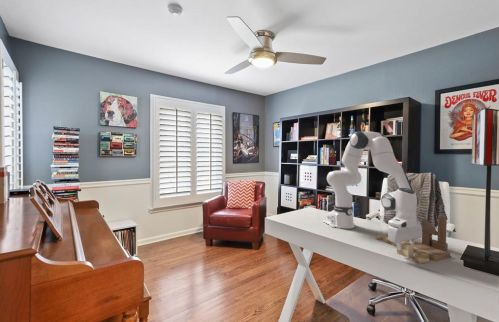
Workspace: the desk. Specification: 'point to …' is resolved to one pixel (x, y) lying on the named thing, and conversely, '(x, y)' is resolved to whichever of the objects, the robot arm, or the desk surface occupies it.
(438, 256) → the board
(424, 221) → the brown wooden upright frame
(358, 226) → the desk surface
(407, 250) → the gauge block
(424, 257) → the stop block
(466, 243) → the desk surface
